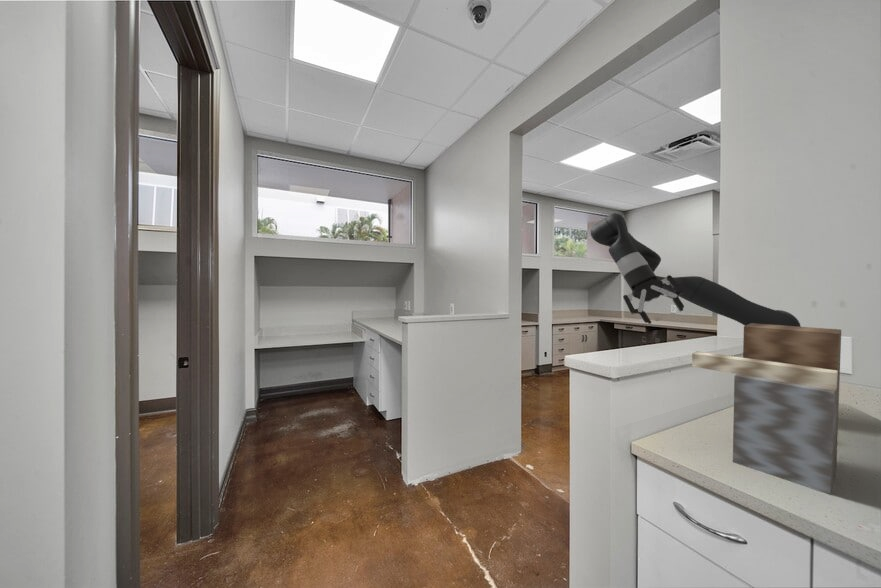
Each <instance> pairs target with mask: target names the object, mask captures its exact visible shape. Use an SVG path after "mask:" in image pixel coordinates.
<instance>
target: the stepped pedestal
mask: <svg viewBox="0 0 881 588" xmlns="http://www.w3.org/2000/svg"><path fill="white" fill-rule="evenodd" d="M742 341H743V342H742V343H743V345H742V348H743V350H742V351H743V352H742V354H743V355H742V358H749V359H757V360H764V361H771V362H779V363H786V364H793V365H801V366H808V367H815V368H823V369H830V370H837V371H838V376H837V389H836V391H835V390H829V389H823V388H817V387H811V386H805V385H799V384H793V383H787V382H781V381H776V380H770V379H764V378H758V377H752V376H746V375H740V374H734V377H733V378H734V379H733V381H734V385H733V425H732V426H733V431H732V436H733V437H732V462H733V463H735V464H738V465H741V466H744V467H748V468H750V469H753V470H756V471H759V472H762V473H765V474H769V475H771V476H774V477H777V478H780V479H782V480H786V481H789V482H791V483H795V484H798V485H800V486H804V487H806V488H808V489H809V488H810V489H813V490H816V491H819V492H820V493H825V494H827V495H831V494H832V488H833V483H834V480H835V476H836V475H835V474H836V470H837V464H838V463H837V462H838V460H837V459H838V457H837V456H838V436H839V435H838V432H839V406H840V402H839V401H840V376H841V374H840V373H841V353H842V352H841V350H842V349H841V347H842V329H839V328H838V329H837V328H824V327H812V326H811V327H810V326H801V327H798V326H784V325H770V324H756V323H751V324H748V325H746V326H745V325H743V340H742Z"/></svg>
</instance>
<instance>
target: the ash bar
mask: <svg viewBox="0 0 881 588" xmlns="http://www.w3.org/2000/svg"><path fill="white" fill-rule="evenodd" d="M691 355H692V356H691V357H692V358H691V367H694V368H700V369H706V370H712V371H717V372H723V373H729V374H734V375H736V374H740V375H746V376H752V377H758V378H764V379H770V380H776V381H781V382H787V383H793V384H799V385H805V386H811V387H817V388H823V389H829V390H835V391H836V389H837V376H838V371H837V370H830V369H823V368H815V367H808V366H801V365H793V364H786V363H779V362H771V361H764V360H757V359H749V358H743V356H733V355H727V354H720V353H719V354H718V353H712V352H704V351H695V352H692V354H691Z"/></svg>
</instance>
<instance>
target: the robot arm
mask: <svg viewBox="0 0 881 588" xmlns="http://www.w3.org/2000/svg"><path fill="white" fill-rule="evenodd" d="M590 237H591V239H592V240H593V241H595V242H596V243H598V244H599V245H602V246H605V247H609V249H608V253H609V254H610V256H611V258H612V259H613V261H614V263H615V264H616V266H617V269H618V271H619V272H620V274H621V276H622V277H623V279H624V280H625V282H626V284H627V285H628V286H629V289H630V290H631V292H630V293H628V294H624V295H623V296H622V297H623V300H624V302H625V305H626V306H627V308H628V310H629V312H630V314H632V315H636V314H638V315H639V316H640V317H641V318H642V320H643V322H644V323H645V324H648V325H650V324H652V321H651V319H650V318H649V316H648V315H647V313H646V312H645V311H644V306H645V302H648V303H649V302H651V301H652V300H655V299H658V298H660V296H662V297H665V298H669V299H672V302H673V304H674V305H675V307H676V308H677V309H678V311H679V312H681V313H682V312H683V311H684V308H685V305H684V304H683V302H682V301H681V299H683V300H685V301H687V302H689V303H691V304H694V305H696V306H698V307H701V308H703V309H706V311H707V310H708V311H710V312H711V313H715V314H718V315H719V316H722V317H726V318H729V319H731V320H733V321H735V322H737V323H739V324H741V325H743V326H746V325H748V324H751V323H756V324H770V325H784V326H798V327H802V326H801V322H800V321H799V319H798V318H797V317H796V316H795V315H793V314H792V313H790V312H788V311H785V310H782V309H781V310H780V309H779V310H778V309H773V308H770V307H767V306H764V305H761V304H758V303H756V302H754V301H750V300H748V299H746V298H745V297H743V296H741V295H740V294H737V293H736V292H735V291H732V290H731V289H730V288H727V287H725V286H723V285H721V284H719V283H717V282H714V281H712V280H709V279H707V278H705V277H702V276H695V275H694V276H693V275H692V276H691V275H690V276H688V275H687V276H675V277H673V276H672V275H669V274H668V275H667V276H666V277H665V276H659V275H656V274H655V270H657V268H658V266H659V265H660V264H661V261H662V258H661V256H660V255H659V254H658V253H657V252H655V251H654V250H653V249H652V248H650V247H648V246H647V245H645V244H643V243H641V242H640V241H638V240H637V239H636V238H634V236H632V235H631V233H630V232H629V230H628V226H627V222H626V220H625V218H624V217H623V215H622V214H621V213H616V212H614V213H611V214H609V215H607V216H606V217H603V219H601V220H600V221H598V222H597V223H595V224H594V225H593V226H592V227H591V229H590ZM679 297H680V298H681V299H680V298H679ZM633 298H636V299H638V300H639V302H638V308H634V306H633V303H632V301H633Z"/></svg>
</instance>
